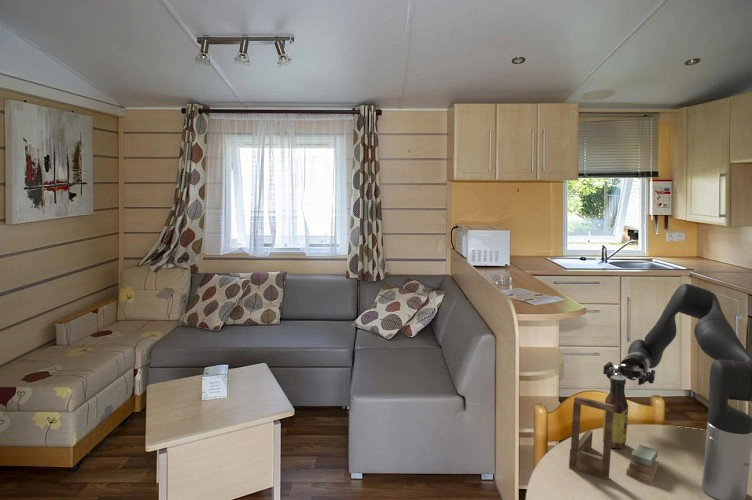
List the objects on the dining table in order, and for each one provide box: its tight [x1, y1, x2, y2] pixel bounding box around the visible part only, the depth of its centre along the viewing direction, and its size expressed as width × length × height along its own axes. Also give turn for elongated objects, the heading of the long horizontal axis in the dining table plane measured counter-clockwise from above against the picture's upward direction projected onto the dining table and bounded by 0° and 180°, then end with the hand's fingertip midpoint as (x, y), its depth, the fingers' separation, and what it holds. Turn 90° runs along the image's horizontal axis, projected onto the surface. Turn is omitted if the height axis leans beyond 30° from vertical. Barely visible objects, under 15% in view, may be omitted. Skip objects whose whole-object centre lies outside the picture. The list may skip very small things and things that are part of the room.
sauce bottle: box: [602, 376, 629, 450], centre depth 158 cm, size 7×6×20 cm
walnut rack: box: [568, 395, 614, 481], centre depth 148 cm, size 10×15×20 cm, turn 144°
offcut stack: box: [626, 444, 659, 483], centre depth 144 cm, size 6×9×5 cm
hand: (624, 378), depth 166 cm, fingers open, 8 cm apart
